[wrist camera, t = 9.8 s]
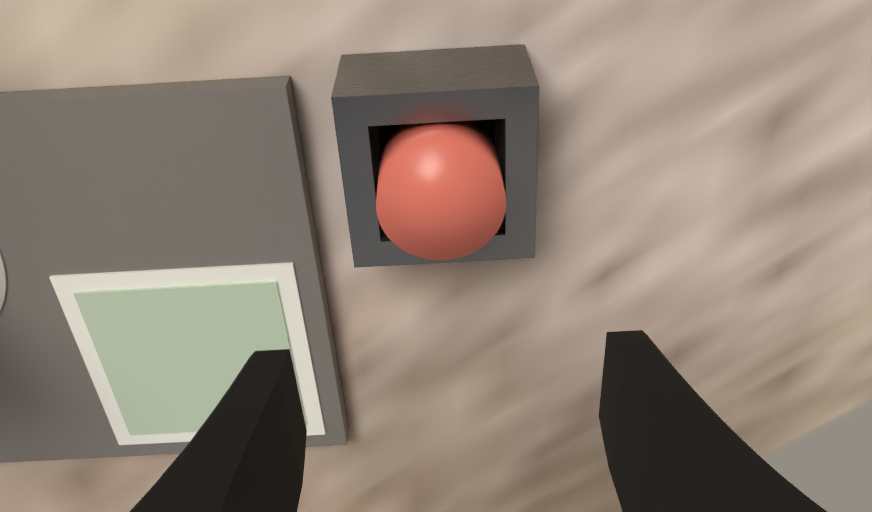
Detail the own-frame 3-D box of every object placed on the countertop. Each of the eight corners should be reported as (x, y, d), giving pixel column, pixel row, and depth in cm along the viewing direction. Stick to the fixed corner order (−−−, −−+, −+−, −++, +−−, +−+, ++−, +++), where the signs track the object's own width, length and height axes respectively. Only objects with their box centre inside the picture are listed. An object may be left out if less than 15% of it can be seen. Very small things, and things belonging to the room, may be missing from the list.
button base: (522, 203, 24) (534, 257, 21) (360, 211, 24) (354, 267, 21) (524, 44, 21) (538, 85, 18) (341, 55, 21) (330, 97, 18)
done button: (499, 216, 21) (505, 256, 20) (384, 223, 21) (382, 263, 20) (498, 109, 19) (506, 143, 18) (373, 116, 19) (369, 151, 18)
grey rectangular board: (348, 428, 29) (346, 448, 28) (-120, 452, 29) (-136, 473, 28) (289, 75, 21) (284, 89, 20) (-351, 112, 21) (-382, 127, 20)
